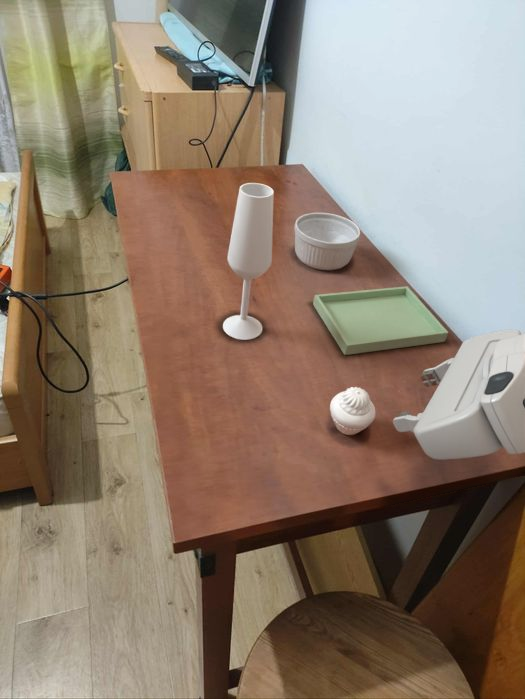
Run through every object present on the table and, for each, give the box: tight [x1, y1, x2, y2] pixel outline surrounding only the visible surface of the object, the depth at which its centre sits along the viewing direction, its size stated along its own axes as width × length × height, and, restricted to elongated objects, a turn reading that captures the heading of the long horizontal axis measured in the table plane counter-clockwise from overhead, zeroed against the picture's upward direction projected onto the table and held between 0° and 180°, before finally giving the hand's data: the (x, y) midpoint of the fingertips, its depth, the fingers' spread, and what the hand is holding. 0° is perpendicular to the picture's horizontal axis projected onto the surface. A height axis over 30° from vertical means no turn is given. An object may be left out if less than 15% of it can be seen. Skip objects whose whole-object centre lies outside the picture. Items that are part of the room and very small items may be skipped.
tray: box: [312, 285, 449, 356], centre depth 90 cm, size 19×14×2 cm
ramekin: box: [293, 212, 361, 271], centre depth 104 cm, size 13×13×7 cm
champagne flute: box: [222, 182, 275, 341], centre depth 78 cm, size 7×7×24 cm
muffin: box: [329, 386, 376, 436], centre depth 69 cm, size 6×6×7 cm
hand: (411, 399), depth 62 cm, fingers open, 8 cm apart
